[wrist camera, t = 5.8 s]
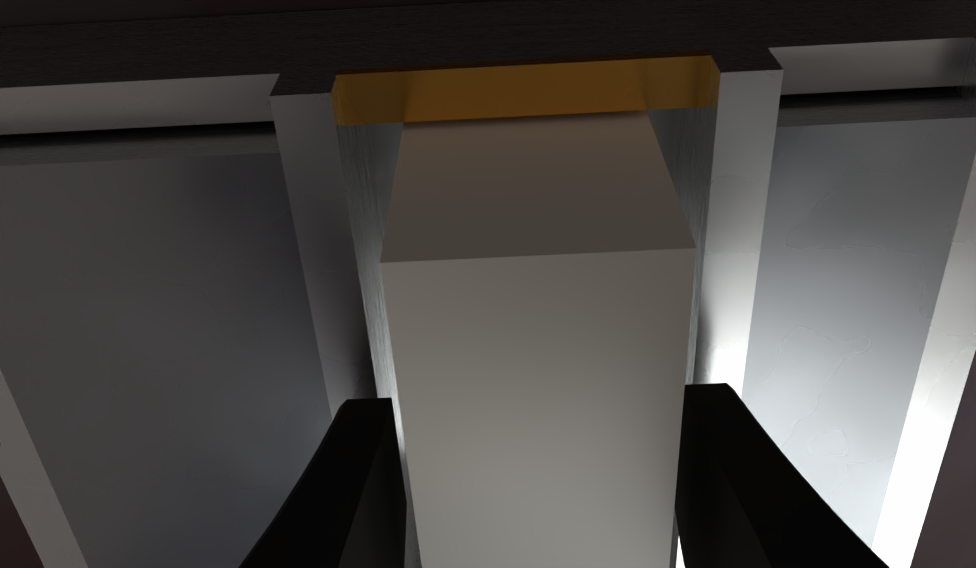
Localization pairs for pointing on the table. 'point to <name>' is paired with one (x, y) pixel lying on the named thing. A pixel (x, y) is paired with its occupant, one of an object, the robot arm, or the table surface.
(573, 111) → the rack
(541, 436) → the beige rectangular block
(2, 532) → the table surface
